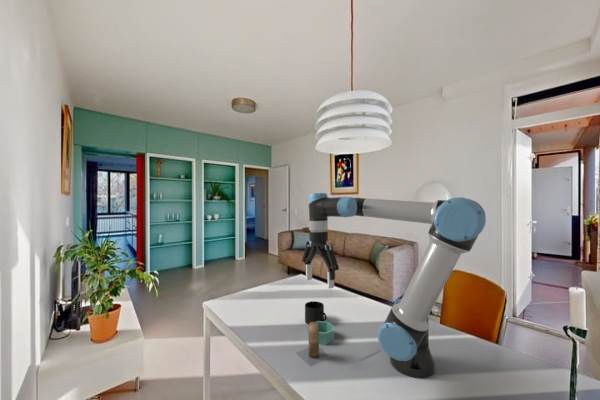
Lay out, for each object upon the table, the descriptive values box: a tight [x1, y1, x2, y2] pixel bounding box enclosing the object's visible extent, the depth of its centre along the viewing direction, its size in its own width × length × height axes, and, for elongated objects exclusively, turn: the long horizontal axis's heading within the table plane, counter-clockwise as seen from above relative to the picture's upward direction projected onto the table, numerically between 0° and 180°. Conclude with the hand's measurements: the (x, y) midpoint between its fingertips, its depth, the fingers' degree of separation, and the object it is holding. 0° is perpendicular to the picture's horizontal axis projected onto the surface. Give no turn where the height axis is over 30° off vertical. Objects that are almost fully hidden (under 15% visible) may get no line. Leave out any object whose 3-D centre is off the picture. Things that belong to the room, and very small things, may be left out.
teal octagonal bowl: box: [317, 321, 335, 346], centre depth 111 cm, size 11×11×6 cm
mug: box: [304, 300, 327, 325], centre depth 126 cm, size 9×12×9 cm
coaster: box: [295, 347, 332, 367], centre depth 99 cm, size 10×10×1 cm
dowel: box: [307, 322, 320, 359], centre depth 98 cm, size 4×4×12 cm
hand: (319, 283), depth 102 cm, fingers open, 13 cm apart
